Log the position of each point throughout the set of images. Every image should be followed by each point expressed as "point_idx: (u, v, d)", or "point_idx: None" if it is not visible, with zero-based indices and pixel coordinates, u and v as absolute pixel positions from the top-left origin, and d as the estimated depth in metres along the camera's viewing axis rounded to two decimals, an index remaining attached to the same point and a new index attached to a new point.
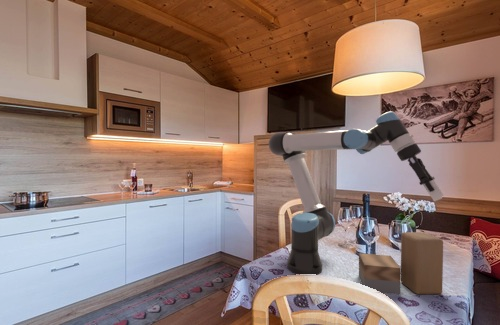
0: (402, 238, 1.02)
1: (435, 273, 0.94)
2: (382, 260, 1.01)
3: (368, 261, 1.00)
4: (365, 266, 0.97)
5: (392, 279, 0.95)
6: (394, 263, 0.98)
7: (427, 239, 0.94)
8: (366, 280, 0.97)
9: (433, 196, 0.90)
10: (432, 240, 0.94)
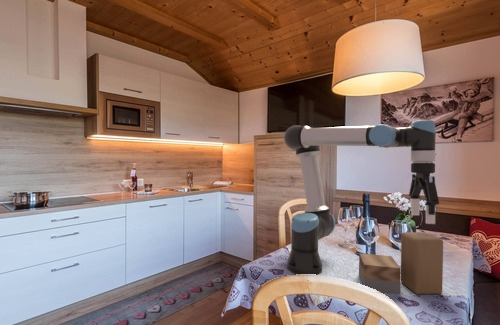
0: (402, 238, 1.02)
1: (435, 273, 0.94)
2: (382, 260, 1.01)
3: (368, 261, 1.00)
4: (365, 266, 0.97)
5: (392, 279, 0.95)
6: (394, 263, 0.98)
7: (427, 239, 0.94)
8: (366, 280, 0.97)
9: (428, 219, 0.91)
10: (432, 240, 0.94)
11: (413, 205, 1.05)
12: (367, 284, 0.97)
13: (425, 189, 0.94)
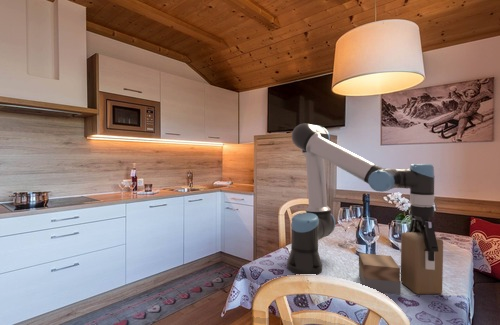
0: (402, 238, 1.02)
1: (435, 273, 0.94)
2: (381, 260, 1.01)
3: (367, 260, 1.00)
4: (364, 266, 0.97)
5: (391, 279, 0.95)
6: (394, 263, 0.98)
7: None
8: (366, 280, 0.97)
9: (428, 264, 0.92)
10: None
11: None
12: (367, 284, 0.97)
13: (424, 234, 0.94)
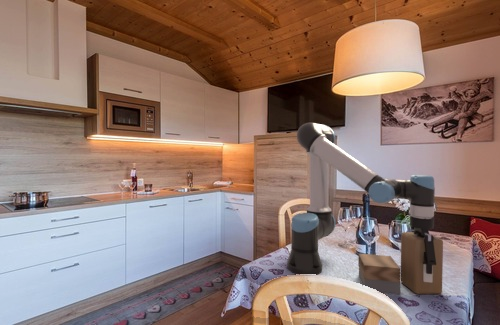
0: (402, 238, 1.02)
1: (435, 273, 0.94)
2: (381, 260, 1.01)
3: (367, 261, 1.00)
4: (365, 266, 0.96)
5: (392, 279, 0.94)
6: (394, 263, 0.98)
7: None
8: (366, 280, 0.97)
9: (426, 277, 0.93)
10: None
11: None
12: (367, 284, 0.97)
13: None
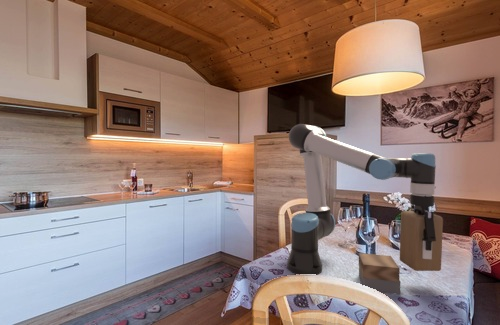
0: (402, 216, 1.02)
1: (434, 250, 0.94)
2: (381, 260, 1.01)
3: (367, 260, 1.01)
4: (364, 266, 0.97)
5: (391, 279, 0.95)
6: (393, 263, 0.98)
7: None
8: (366, 280, 0.97)
9: (425, 254, 0.93)
10: None
11: None
12: (367, 284, 0.97)
13: None
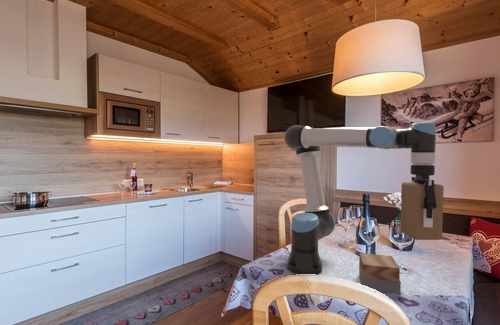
0: (402, 188, 1.02)
1: (435, 219, 0.94)
2: (381, 260, 1.01)
3: (367, 260, 1.01)
4: (364, 266, 0.97)
5: (391, 279, 0.95)
6: (394, 263, 0.98)
7: None
8: (366, 280, 0.97)
9: (426, 222, 0.93)
10: None
11: None
12: (367, 284, 0.97)
13: None
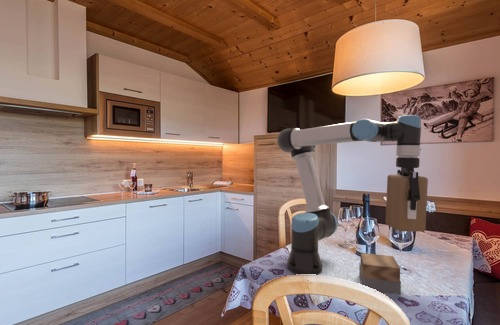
0: (388, 180, 1.02)
1: (419, 211, 0.95)
2: (382, 260, 1.01)
3: (368, 260, 1.01)
4: (364, 265, 0.97)
5: (391, 279, 0.94)
6: (395, 263, 0.97)
7: None
8: (366, 279, 0.97)
9: (410, 214, 0.94)
10: None
11: None
12: (367, 283, 0.97)
13: None
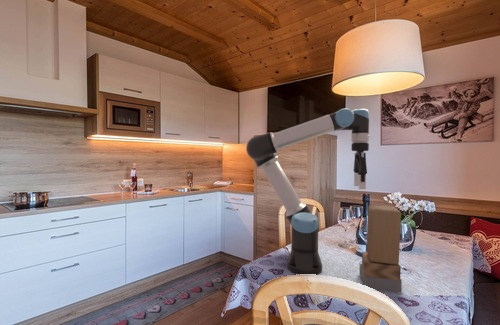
0: (368, 210, 1.06)
1: (390, 244, 0.96)
2: None
3: None
4: (365, 264, 0.99)
5: (392, 278, 0.96)
6: None
7: (383, 210, 0.97)
8: (368, 279, 0.98)
9: (360, 185, 1.18)
10: (388, 211, 0.96)
11: (355, 178, 1.31)
12: (368, 283, 0.98)
13: (359, 163, 1.20)
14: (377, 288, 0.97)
